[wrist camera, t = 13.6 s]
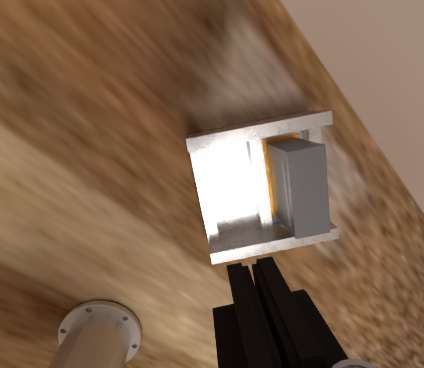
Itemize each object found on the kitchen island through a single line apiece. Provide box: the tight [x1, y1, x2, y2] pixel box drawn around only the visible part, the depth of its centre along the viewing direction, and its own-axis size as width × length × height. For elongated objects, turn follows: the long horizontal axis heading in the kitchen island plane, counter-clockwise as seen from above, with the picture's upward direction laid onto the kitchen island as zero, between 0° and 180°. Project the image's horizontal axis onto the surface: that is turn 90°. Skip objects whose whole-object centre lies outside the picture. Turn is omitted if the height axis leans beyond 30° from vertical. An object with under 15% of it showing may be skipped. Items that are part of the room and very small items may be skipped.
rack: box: [186, 111, 339, 264], centre depth 34 cm, size 16×16×6 cm
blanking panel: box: [266, 137, 330, 239], centre depth 32 cm, size 10×4×8 cm, turn 10°
